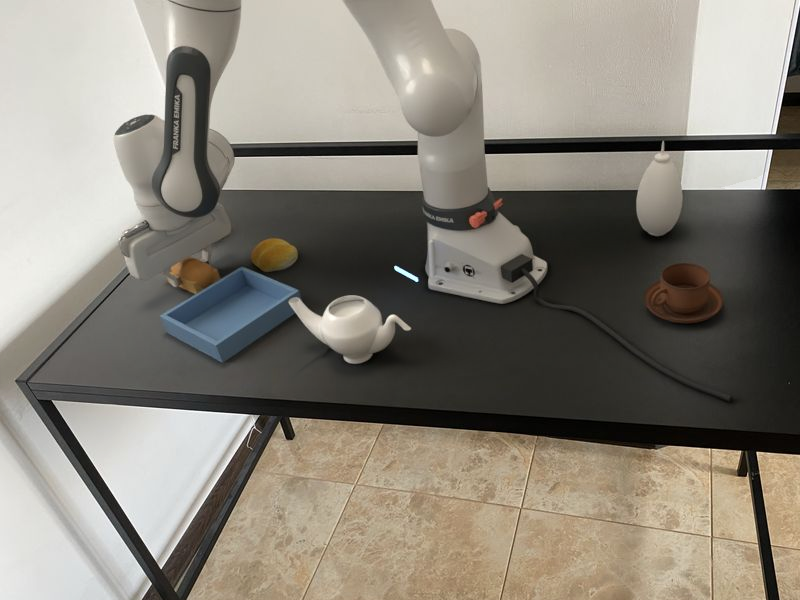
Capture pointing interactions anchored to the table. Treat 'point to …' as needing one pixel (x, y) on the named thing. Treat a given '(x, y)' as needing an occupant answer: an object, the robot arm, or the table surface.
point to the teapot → (350, 327)
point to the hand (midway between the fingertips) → (192, 276)
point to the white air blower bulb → (659, 196)
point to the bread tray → (230, 313)
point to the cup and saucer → (684, 294)
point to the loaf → (195, 274)
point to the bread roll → (274, 255)
